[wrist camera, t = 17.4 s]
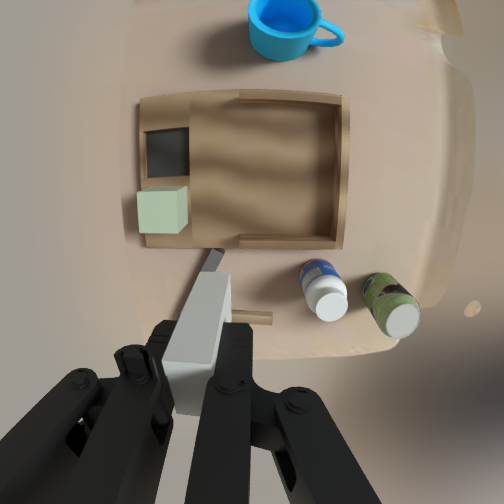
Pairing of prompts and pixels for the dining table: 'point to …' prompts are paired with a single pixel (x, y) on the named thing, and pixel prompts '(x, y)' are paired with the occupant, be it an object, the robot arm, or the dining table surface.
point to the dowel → (252, 317)
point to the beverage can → (391, 305)
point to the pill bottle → (323, 290)
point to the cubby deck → (250, 166)
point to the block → (162, 209)
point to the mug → (287, 28)
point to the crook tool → (209, 266)
